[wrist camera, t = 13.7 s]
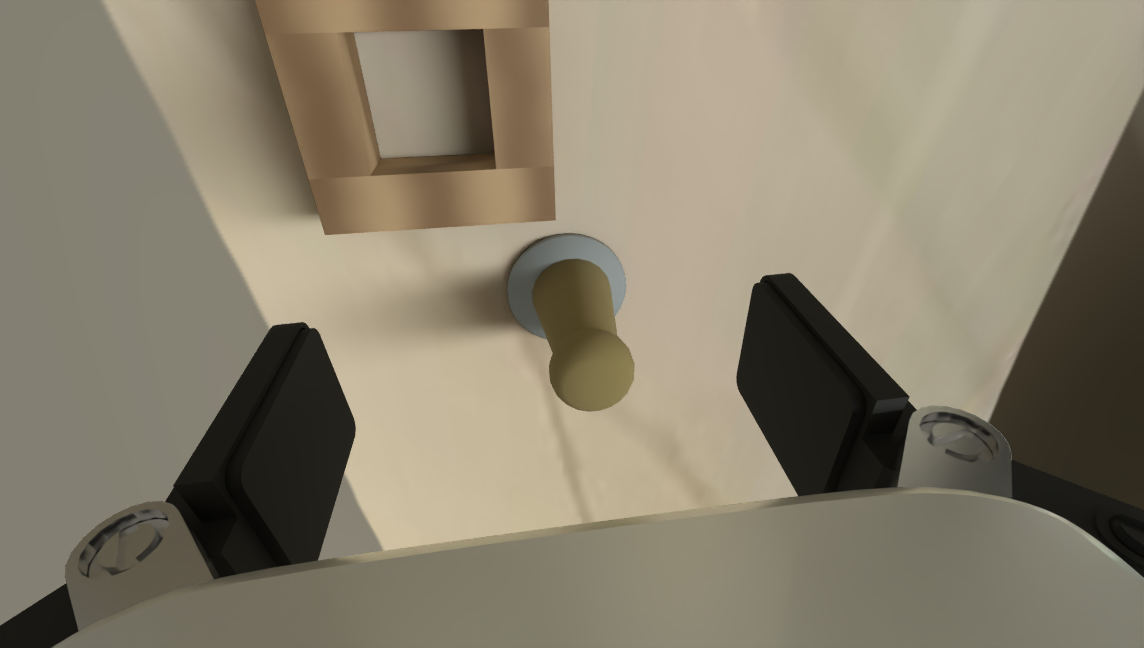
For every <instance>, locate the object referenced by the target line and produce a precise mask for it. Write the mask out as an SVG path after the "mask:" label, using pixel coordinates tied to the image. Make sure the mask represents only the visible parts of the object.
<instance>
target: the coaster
mask: <svg viewBox="0 0 1144 648" xmlns="http://www.w3.org/2000/svg"><path fill="white" fill-rule="evenodd" d="M577 258H578V259H582V260H587V261H590V262H592V263H594V264H595V265H597V266H599V267H600V268H601V269H602V270H603V272H604V273H605V274H606V275H607V277H608V280H609V283H610V286H611V293H612V301H613V308H614V316H615V315H616V314H617V313H618V311H619V309H620V307H621V305H622V303H623V300H624V297H625V292H626V279H625V274H624V271H623V268H622V266H621V263H620V262H619V260H618V258H617V256H616V255H615V254H614V252H613V251H612V250H611V249H610V248H609V247H608V246H606V245H605V244H604V243H602V242H600V241H599V240H597V239H594V238H592V237H589V236H586V235H582V234H558V235H554V236H550V237H547V238H544V239H542V240H540V241H538V242H536V243H534V244H533V245H532V246H530V247H529V248H527V249H526V250H525V251H524V252H523V253H522V254H521V255H520V257H519V258H518V259H517V260H516V262H515V264H514V265H513V267H512V269H511V272H510V275H509V278H508V285H507V293H508V301H509V305H510V308H511V311H512V313H513V315H514V317H515V318H516V319H517V321H518V322H519V323H520V324H521V325H522V326H523V327H524V328H525V329H527V330H528V331H530V332H531V333H533V334H535V335H537V336H539V337H542V338H545V339H547V337H546V335H545V332H544V330H543V328H542V325H541V323H540V320H539V318H538V315H537V313H536V310H535V308H534V305H533V301H532V290H533V287H534V283H535V281H536V279H537V278H538V277H539V275H540V274H541V272H542V271H544V270H545V269H546V268H548V267H549V266H550V265H552V264H554V263H556V262H559V261H562V260H564V259H577Z"/></svg>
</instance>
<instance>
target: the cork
mask: <svg viewBox="0 0 1144 648" xmlns="http://www.w3.org/2000/svg"><path fill="white" fill-rule="evenodd" d="M532 301H533V305H534V308H535V310H536V313H537V315H538V318H539V320H540V323H541V325H542V328H543V330H544V332H545V335H546V337H547V340H548V342H549V345H550V347H551V350H552V352H553V354H552V357H551V360H550V364H549V374H550V382H551V384H552V387H553V389H554V391H555V393H556V394H557V396H558V397H559V398H560V399H561V400H562V401H563V402H564V403H565V404H567V405H569V406H571V407H573V408H575V409H578V410H582V411H599V410H603V409H606V408H609V407H611V406H613V405H614V404H616V403H617V402H619V401H620V400H621V399H622V398H623V397H624V396H625V395H626V394H627V392H628V390H629V389H630V386H631V384H632V382H633V380H634V362H633V359H632V356H631V353H630V351H629V348H628V347H627V346H626V345H625V344H624V343H623V342H622V340H621V339H620V338H619V337H618V336H617V331H616V323H615V316H614V308H613V301H612V293H611V286H610V283H609V280H608V277H607V275H606V274H605V273H604V272H603V270H602V269H601V268H600V267H599V266H597V265H595V264H594V263H592V262H590V261H587V260H582V259H578V258H577V259H564V260H562V261H559V262H556V263H554V264H552V265H550V266H549V267H548V268H546V269H545V270H544V271H542V272H541V274H540V275H539V277H538V278H537V279H536V281H535V283H534V287H533V290H532Z"/></svg>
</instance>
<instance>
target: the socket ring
mask: <svg viewBox="0 0 1144 648" xmlns="http://www.w3.org/2000/svg"><path fill="white" fill-rule="evenodd" d="M255 3H256V6H257V9H258V13H259V16H260V19H261V23H262V26H263V29H264V33H265V36H266V39H267V43H268V46H269V49H270V53H271V56H272V59H273V63H274V66H275V69H276V73H277V76H278V79H279V83H280V86H281V89H282V93H283V96H284V99H285V103H286V106H287V109H288V113H289V116H290V119H291V123H292V126H293V129H294V133H295V136H296V140H297V143H298V146H299V150H300V153H301V156H302V160H303V163H304V166H305V170H306V173H307V176H308V180H309V183H310V186H311V190H312V193H313V196H314V200H315V203H316V206H317V210H318V213H319V216H320V220H321V223H322V226H323V230H324V233H325V235H332V234H348V233H364V232H379V231H395V230H410V229H426V228H441V227H457V226H472V225H488V224H504V223H519V222H535V221H550V220H556V217H555V186H554V156H553V126H552V95H551V65H550V34H549V4H548V0H255ZM456 29H483V33H484V44H485V54H486V65H487V76H488V86H489V97H490V107H491V118H492V128H493V139H494V149H495V153H486V154H466V155H446V156H426V157H407V158H387V159H381V158H380V153H379V148H378V144H377V139H376V134H375V130H374V125H373V121H372V116H371V111H370V107H369V102H368V97H367V93H366V88H365V84H364V79H363V74H362V70H361V65H360V60H359V56H358V51H357V47H356V42H355V37H354V33H353V32H378V31H417V30H456Z"/></svg>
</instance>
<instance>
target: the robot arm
mask: <svg viewBox="0 0 1144 648" xmlns="http://www.w3.org/2000/svg"><path fill="white" fill-rule="evenodd" d="M737 386H738V390H739V392H740V394H741V395H742V397H743V399H744V401H745V402H746V404H747V406H748V408H749V410H750V411H751V413H752V415H753V417H754V418H755V420H756V422H757V424H758V425H759V427H760V429H761V431H762V433H763V434H764V436H765V438H766V440H767V441H768V443H769V445H770V447H771V448H772V450H773V452H774V454H775V456H776V457H777V459H778V461H779V463H780V464H781V466H782V468H783V470H784V471H785V473H786V475H787V477H788V479H789V480H790V482H791V484H792V486H793V487H794V489H795V491H796V493H797V494H798V496H797V497H788V498H779V499H771V500H763V501H755V502H747V503H739V504H732V505H724V506H716V507H708V508H700V509H692V510H685V511H677V512H669V513H661V514H653V515H646V516H638V517H630V518H623V519H615V520H608V521H600V522H593V523H585V524H577V525H570V526H562V527H555V528H548V529H540V530H533V531H525V532H518V533H510V534H503V535H495V536H488V537H481V538H474V539H466V540H459V541H452V542H445V543H437V544H430V545H423V546H416V547H409V548H401V549H394V550H387V551H380V552H373V553H365V554H358V555H352V556H345V557H339V558H332V559H326V560H320V561H318V558H319V555H320V551H321V548H322V544H323V541H324V538H325V535H326V531H327V528H328V524H329V521H330V518H331V515H332V511H333V508H334V505H335V501H336V498H337V495H338V491H339V488H340V485H341V481H342V478H343V475H344V471H345V468H346V465H347V461H348V458H349V455H350V451H351V448H352V445H353V441H354V438H355V431H356V428H355V421H354V418H353V415H352V413H351V410H350V408H349V406H348V403H347V401H346V398H345V396H344V393H343V391H342V388H341V386H340V383H339V381H338V378H337V376H336V373H335V371H334V368H333V366H332V364H331V361H330V359H329V356H328V354H327V351H326V349H325V346H324V344H323V341H322V339H321V336H320V334H319V332H318V331H317V329H315V328H311V329H310V328H309V327H308V325H307V324H306V323H303V322H301V323H291V324H281V325H274V326H272V328H271V329H270V330H269V332H268V333H267V335H266V337H265V338H264V340H263V342H262V343H261V345H260V346H259V348H258V349H257V352H256V353H255V354H254V356H253V358H252V359H251V361H250V363H249V364H248V366H247V367H246V369H245V370H244V372H243V374H242V375H241V377H240V379H239V380H238V382H237V383H236V385H235V387H234V388H233V390H232V391H231V393H230V395H229V396H228V398H227V400H226V401H225V403H224V405H223V406H222V408H221V410H220V411H219V413H218V414H217V416H216V418H215V419H214V421H213V422H212V424H211V425H210V427H209V429H208V430H207V432H206V434H205V435H204V437H203V438H202V440H201V442H200V443H199V445H198V446H197V448H196V450H195V451H194V453H193V454H192V456H191V458H190V459H189V461H188V463H187V464H186V466H185V467H184V469H183V471H182V472H181V474H180V475H179V477H178V479H177V480H176V482H175V484H174V485H173V486H174V488H173V490H172V492H171V493H170V495H169V496H168V498H167V500H166V501H165V502H163V501H154V502H145V503H142V504H138V505H134V506H131V507H129V508H127V509H125V510H122V511H120V512H118V513H116V514H114V515H112V516H111V517H110V518H108V519H106V520H105V521H103V522H102V523H100V524H99V525H97V526H96V527H95V528H94V529H93V530H91V531H90V532H89V533H88V534H87V535H86V536H85V537H83V539H82V540H81V541H80V542H79V543H78V545H77V546H76V547H75V548H74V550H73V551H72V552H71V555H70V557H69V559H68V561H67V563H66V565H65V579H66V584H64V585H63V586H61V587H60V588H58V589H57V590H55V591H54V592H52V593H50V594H49V595H47V596H46V597H44V598H43V599H41V600H39V601H38V602H36V603H35V604H33V605H32V606H30V607H29V608H27V609H26V610H24V611H22V612H21V613H19V614H18V615H16V616H15V617H13V618H11V619H10V620H8V621H7V622H5V623H4V624H2V625H1V626H0V648H1144V510H1142V509H1140V508H1137V507H1135V506H1132V505H1130V504H1127V503H1124V502H1121V501H1119V500H1116V499H1113V498H1111V497H1108V496H1106V495H1103V494H1100V493H1097V492H1095V491H1093V490H1090V489H1087V488H1085V487H1082V486H1079V485H1077V484H1074V483H1071V482H1069V481H1066V480H1063V479H1061V478H1058V477H1056V476H1053V475H1050V474H1047V473H1045V472H1042V471H1040V470H1037V469H1034V468H1032V467H1029V466H1027V465H1024V464H1021V463H1019V462H1016V461H1013V460H1011V451H1010V447H1009V444H1008V442H1007V441H1006V440H1005V438H1004V437H1003V435H1001V433H1000V432H999V431H998V430H996V429H995V428H994V427H993V426H992V425H990V424H989V423H988V422H986V421H984V420H982V419H981V418H979V417H977V416H975V415H973V414H970V413H968V412H965V411H963V410H960V409H955V408H951V407H947V406H928V407H923V408H920V409H918V410H916V409H915V408H914V406H913V405H912V404H911V403H910V402H909V401H908V399H909V396H908V395H907V394H906V393H905V391H904V390H903V389H902V388H901V387H900V386H899V385H898V384H897V383H896V382H895V381H894V380H893V379H892V378H891V377H890V376H889V375H888V374H887V373H886V371H885V370H884V369H883V368H882V367H881V366H880V365H879V364H878V363H877V362H876V361H875V360H874V359H873V358H872V357H871V356H870V355H869V354H868V353H867V351H866V350H865V349H864V348H863V347H862V346H861V345H860V344H859V343H858V342H857V341H856V340H855V339H854V338H853V337H852V336H851V335H850V334H849V333H848V332H847V330H846V329H845V328H844V327H843V326H842V325H841V324H840V323H839V322H838V321H837V320H836V319H835V318H834V317H833V316H832V315H831V314H830V313H829V312H828V310H827V309H826V308H825V307H824V306H823V305H822V304H821V303H820V302H819V301H818V300H817V299H816V298H815V297H814V296H813V295H812V294H811V293H810V292H809V290H808V289H807V288H806V287H805V286H804V285H803V284H802V283H801V282H800V281H799V280H798V279H797V278H796V277H795V276H794V275H793V274H791V273H786V274H776V275H766V276H764V277H762V279H761V280H760V283H756V284H754V286H753V289H752V294H751V300H750V305H749V311H748V316H747V321H746V327H745V332H744V338H743V343H742V349H741V354H740V360H739V365H738V371H737Z"/></svg>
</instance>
